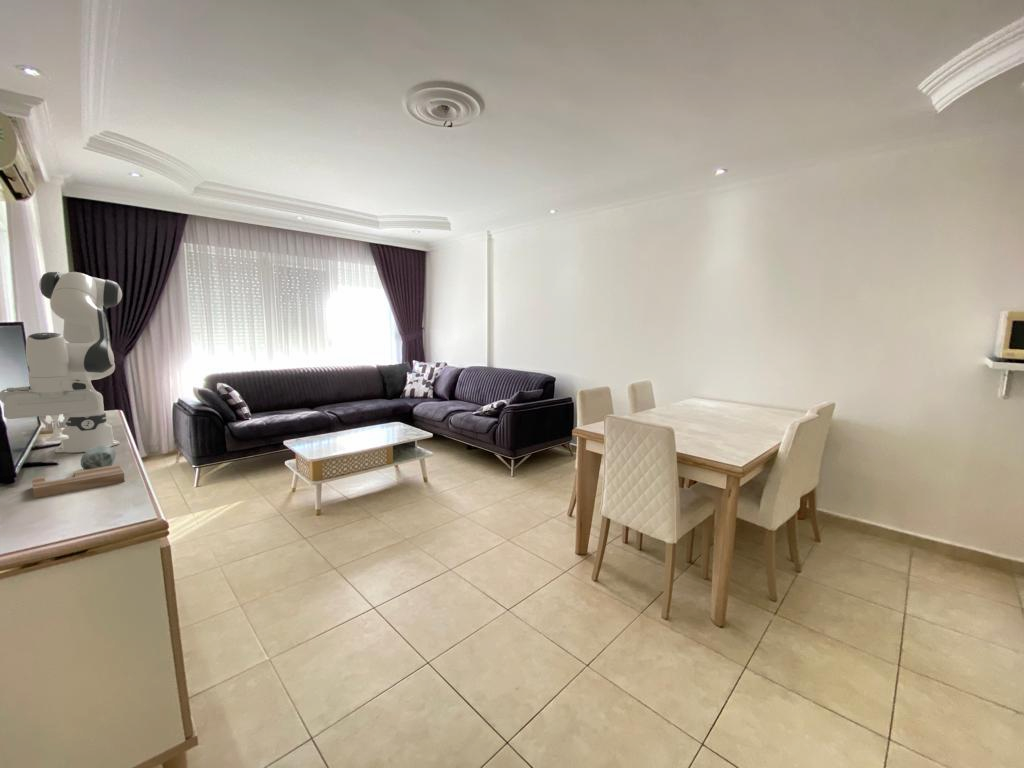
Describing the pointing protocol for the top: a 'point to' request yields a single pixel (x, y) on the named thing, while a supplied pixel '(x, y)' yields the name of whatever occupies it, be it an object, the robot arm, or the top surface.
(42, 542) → the top surface
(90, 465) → the yarn ball
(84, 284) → the robot arm
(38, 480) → the notch board
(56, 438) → the chess piece
